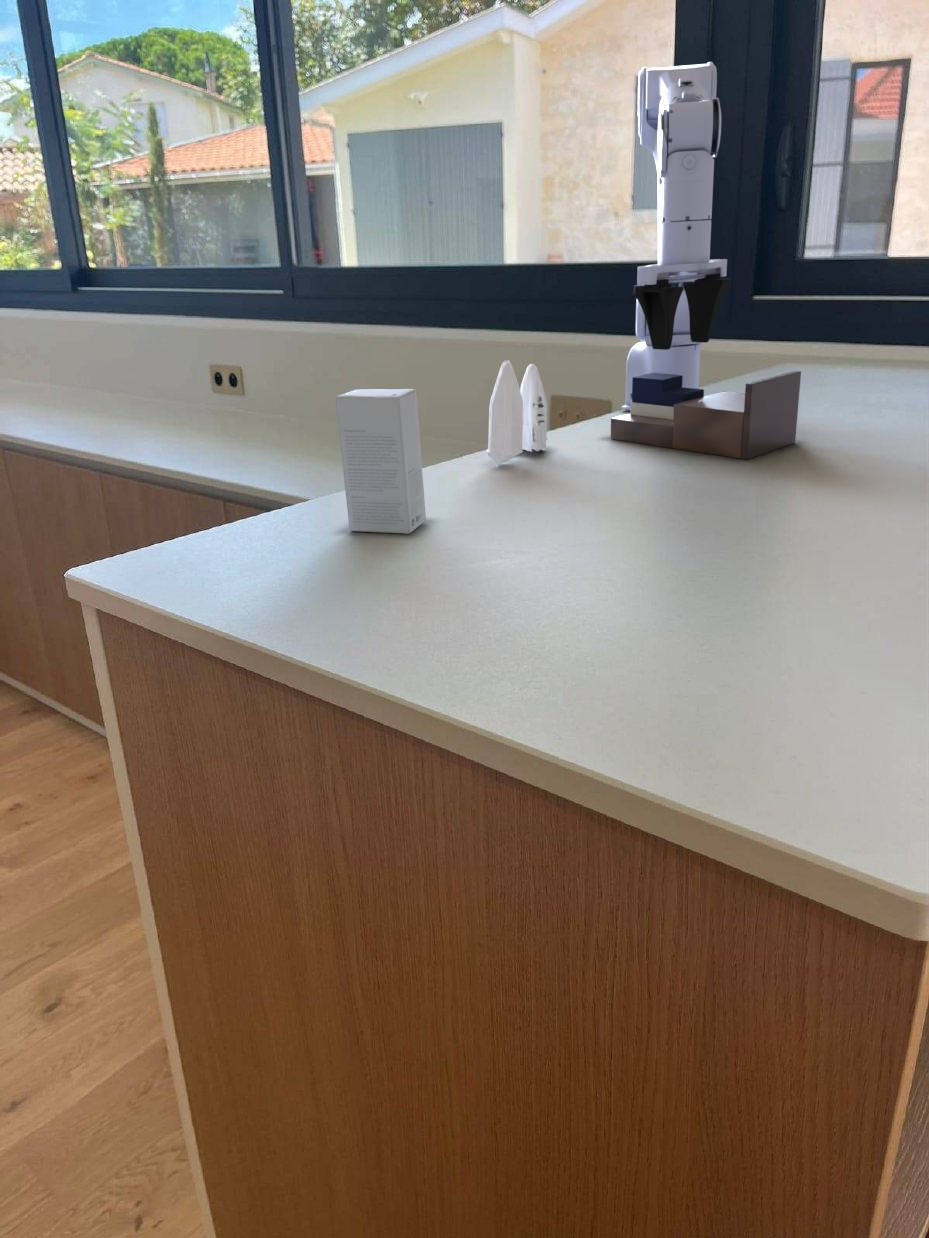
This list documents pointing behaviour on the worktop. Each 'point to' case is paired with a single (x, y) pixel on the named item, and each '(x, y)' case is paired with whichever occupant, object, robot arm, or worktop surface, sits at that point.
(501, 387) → the shaker set
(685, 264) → the robot arm
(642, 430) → the step shelf
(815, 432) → the worktop surface
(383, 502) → the cosmetic box
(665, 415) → the navy stepped block
